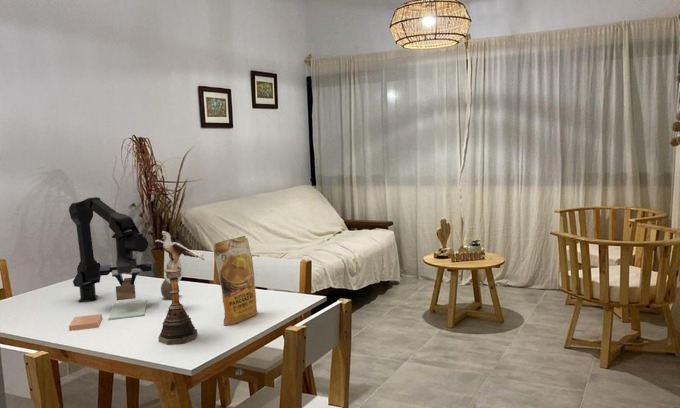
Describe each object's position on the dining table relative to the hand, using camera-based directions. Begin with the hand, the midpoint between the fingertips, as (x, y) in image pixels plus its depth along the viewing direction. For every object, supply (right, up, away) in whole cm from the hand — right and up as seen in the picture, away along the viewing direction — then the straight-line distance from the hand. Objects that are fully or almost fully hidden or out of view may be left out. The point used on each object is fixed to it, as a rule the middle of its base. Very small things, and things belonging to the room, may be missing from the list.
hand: (127, 290), depth 211 cm
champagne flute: (+20, -7, -5) cm, 21 cm away
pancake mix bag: (+46, -7, -18) cm, 50 cm away
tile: (-9, -8, -14) cm, 18 cm away
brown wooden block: (+1, -1, -2) cm, 3 cm away
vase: (+13, -5, +12) cm, 18 cm away
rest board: (+2, -7, -3) cm, 8 cm away
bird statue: (+30, -9, -33) cm, 46 cm away
